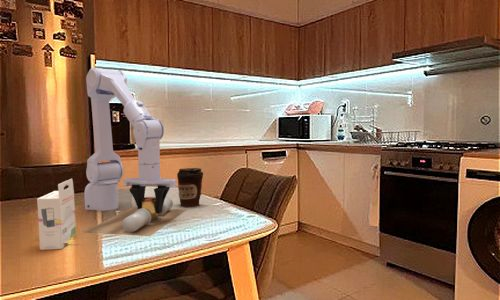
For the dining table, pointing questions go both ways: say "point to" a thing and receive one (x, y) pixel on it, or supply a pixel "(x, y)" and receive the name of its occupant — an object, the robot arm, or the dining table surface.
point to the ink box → (56, 217)
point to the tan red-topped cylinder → (150, 207)
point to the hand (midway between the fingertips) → (150, 212)
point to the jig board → (116, 227)
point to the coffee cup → (189, 186)
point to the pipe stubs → (143, 217)
